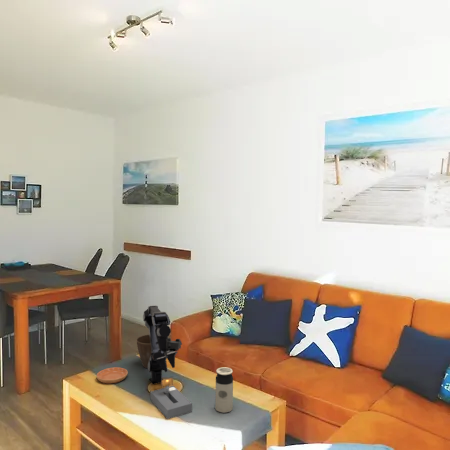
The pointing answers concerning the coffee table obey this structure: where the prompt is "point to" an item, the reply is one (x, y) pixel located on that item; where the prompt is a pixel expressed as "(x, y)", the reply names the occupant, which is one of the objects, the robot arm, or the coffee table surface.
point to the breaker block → (171, 402)
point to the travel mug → (224, 390)
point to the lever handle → (167, 385)
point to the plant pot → (144, 349)
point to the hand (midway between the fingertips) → (170, 369)
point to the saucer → (112, 375)
